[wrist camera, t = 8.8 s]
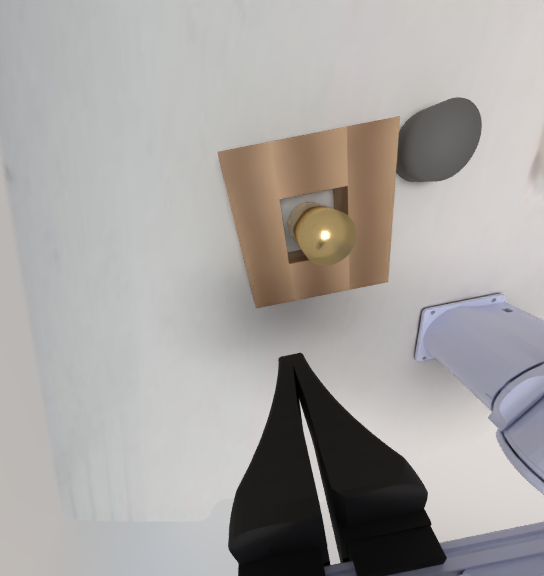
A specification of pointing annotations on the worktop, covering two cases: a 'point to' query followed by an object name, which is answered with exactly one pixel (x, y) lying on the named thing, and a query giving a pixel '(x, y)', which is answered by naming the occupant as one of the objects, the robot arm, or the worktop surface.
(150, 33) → the worktop surface
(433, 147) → the flat gray river rock
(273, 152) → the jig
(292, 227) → the brass cylinder plug
